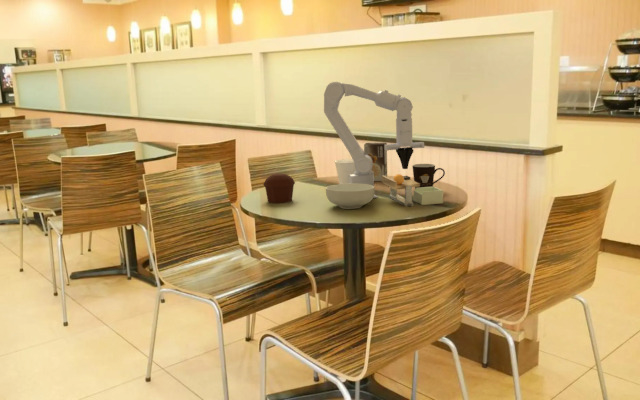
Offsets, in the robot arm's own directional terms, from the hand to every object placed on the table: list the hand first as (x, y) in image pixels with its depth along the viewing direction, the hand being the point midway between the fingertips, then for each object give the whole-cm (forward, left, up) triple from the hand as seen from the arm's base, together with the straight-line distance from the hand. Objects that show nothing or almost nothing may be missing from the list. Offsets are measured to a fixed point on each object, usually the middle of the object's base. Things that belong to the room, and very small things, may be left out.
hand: (404, 168), depth 214 cm
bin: (+4, -12, -10) cm, 16 cm away
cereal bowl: (-23, -10, -11) cm, 27 cm away
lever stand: (-4, -8, -10) cm, 14 cm away
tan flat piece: (-4, -8, -4) cm, 10 cm away
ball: (-6, -12, -2) cm, 13 cm away
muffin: (-45, +9, -11) cm, 47 cm away
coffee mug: (+11, +7, -11) cm, 17 cm away
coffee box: (+1, +38, -11) cm, 40 cm away
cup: (-15, +26, -11) cm, 32 cm away
